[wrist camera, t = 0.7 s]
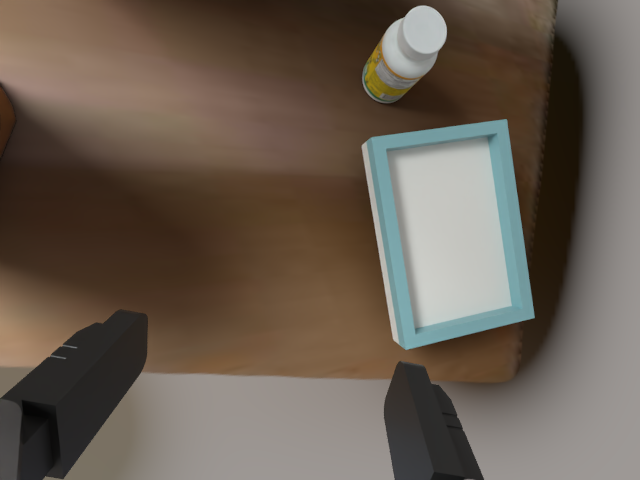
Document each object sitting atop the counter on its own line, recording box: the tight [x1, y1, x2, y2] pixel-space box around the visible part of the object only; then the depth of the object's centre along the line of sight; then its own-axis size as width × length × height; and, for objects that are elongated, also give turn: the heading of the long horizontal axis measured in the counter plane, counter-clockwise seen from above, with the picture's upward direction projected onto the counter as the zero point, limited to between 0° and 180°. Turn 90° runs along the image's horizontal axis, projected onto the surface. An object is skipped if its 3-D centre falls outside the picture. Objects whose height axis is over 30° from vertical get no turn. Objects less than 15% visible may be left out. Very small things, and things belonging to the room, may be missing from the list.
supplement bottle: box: [362, 6, 447, 103], centre depth 33 cm, size 5×5×10 cm
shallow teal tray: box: [362, 119, 535, 350], centre depth 36 cm, size 20×14×6 cm
